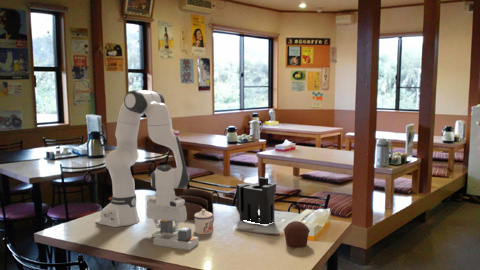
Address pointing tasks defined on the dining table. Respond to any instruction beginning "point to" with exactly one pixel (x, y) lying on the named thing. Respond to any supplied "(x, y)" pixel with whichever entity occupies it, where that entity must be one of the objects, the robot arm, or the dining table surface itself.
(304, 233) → the muffin
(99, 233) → the dining table surface
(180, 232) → the dark grey block
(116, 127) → the robot arm
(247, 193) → the black machined bracket
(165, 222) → the plug
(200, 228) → the teacup with lid
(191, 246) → the power strip
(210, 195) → the letter holder
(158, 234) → the tray
